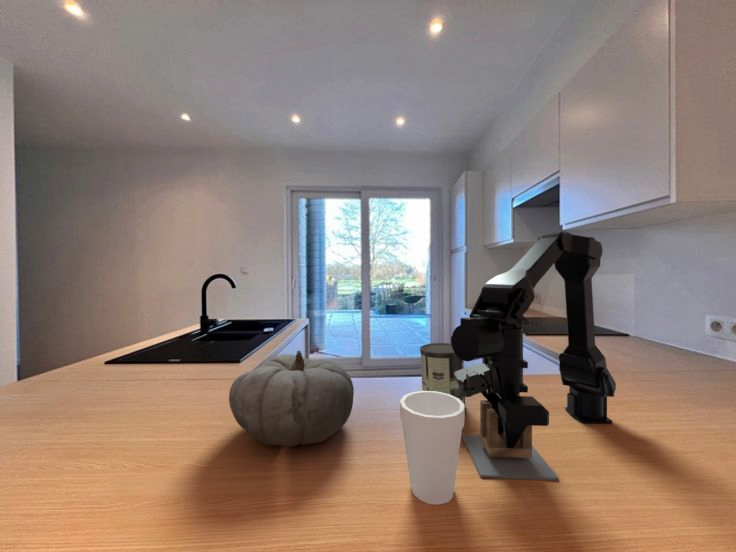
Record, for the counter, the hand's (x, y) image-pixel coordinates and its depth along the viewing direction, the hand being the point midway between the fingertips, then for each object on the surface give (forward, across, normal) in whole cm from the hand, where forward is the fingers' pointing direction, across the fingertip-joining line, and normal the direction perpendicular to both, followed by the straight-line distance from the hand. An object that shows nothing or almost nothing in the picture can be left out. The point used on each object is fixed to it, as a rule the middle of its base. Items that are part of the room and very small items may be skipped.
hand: (504, 440), depth 54 cm
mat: (+3, 0, 0) cm, 3 cm away
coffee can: (+3, -20, -7) cm, 21 cm away
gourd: (+3, -7, -40) cm, 41 cm away
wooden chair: (+2, 0, 0) cm, 2 cm away
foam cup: (+3, +9, -14) cm, 17 cm away
